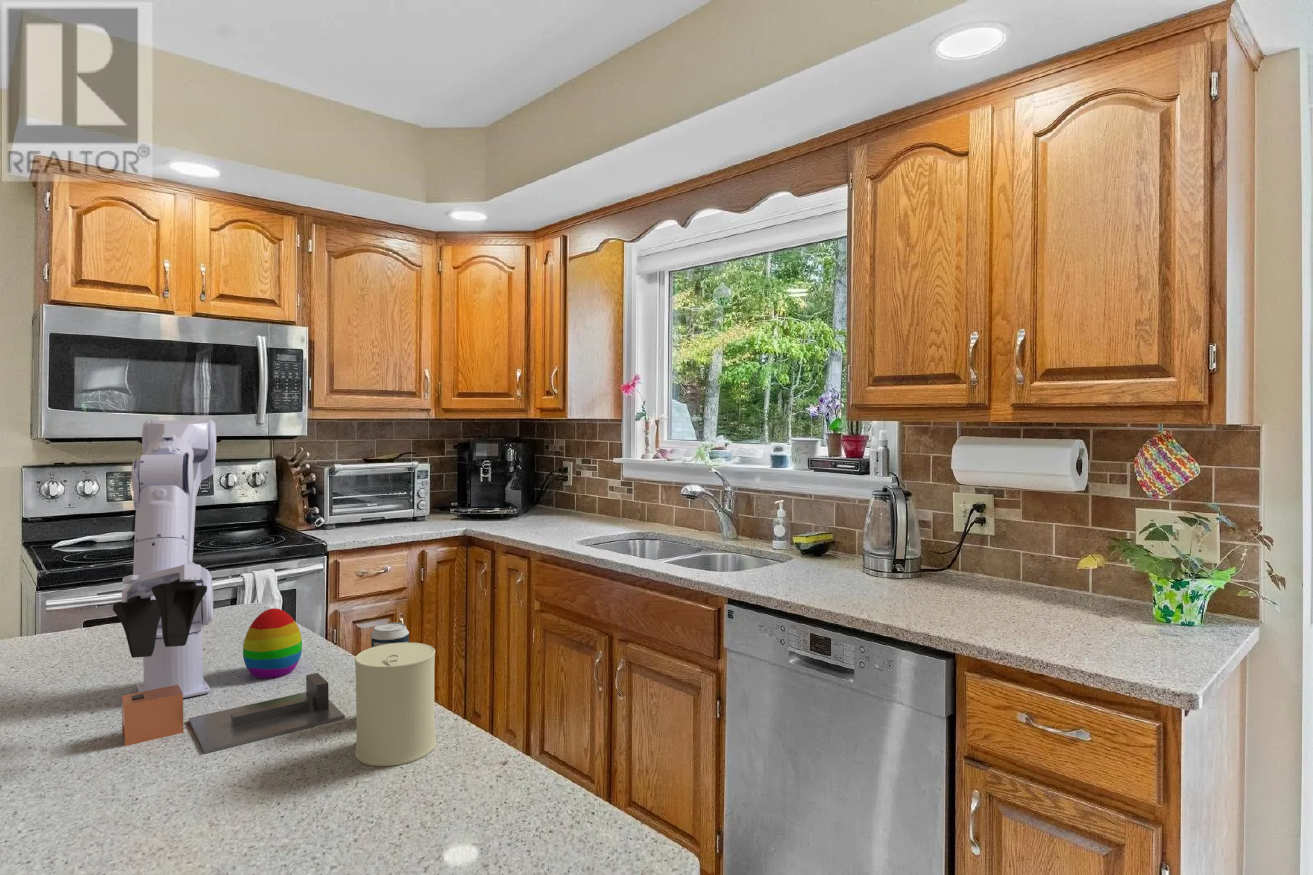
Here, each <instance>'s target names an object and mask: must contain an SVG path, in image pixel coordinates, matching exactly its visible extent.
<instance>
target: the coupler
mask: <svg viewBox="0 0 1313 875" xmlns="http://www.w3.org/2000/svg"><path fill="white" fill-rule="evenodd" d="M305 677H306V678H305V683H306V684H305V687H306V688H305V691H304V692H300V693H295V694H290V695H287V696H283V697H277V698H273V699H272V698H271V699H269V700H263V701H259V702H254V703H250V704H247V705H246V704H245V705H241V706H237V707H233V708H228V709H224V710H220V711H219V710H218V711H215V712H211V713H207V714H201V715H196V716H192V717H189V718H187V719H188V723H189V725H190V727H191V730H192V731H193V733H194V735H195V738H196V739H197V742H198V744H199V746H200V747H201V750H202V752H203V754H210V753H213V752H216V751H221V750H225V749H228V748H233V747H236V746H240V745H244V744H247V743H248V744H249V743H251V742H257V741H260V740H264V739H268V738H273V737H275V736H280V735H284V734H288V733H292V732H295V731H299V730H304V729H308V728H312V727H316V726H319V725H324V724H328V723H331V722H336V721H340V720H344V719H345V716H346V715H345V714H344V713H343V712H342V711H341V710H340V709H339V708H338V707H337V706H336V705H335V704H333V702H332V701H331V700H330V698H329V697H330V696H329V682H328V680H326V679H325V678H324V677H323V676H322V675H321V674H320V673H319V672H315V673H310V674H306V675H305Z"/></svg>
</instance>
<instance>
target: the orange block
mask: <svg viewBox="0 0 1313 875" xmlns="http://www.w3.org/2000/svg"><path fill="white" fill-rule="evenodd" d="M183 733H184V698H183V693H182V691H181V689H180V687H179V685H174V686H168V687H163V688H158V689H153V690H148V691H143V692H138V691H137V692H133V693H129V694H124V695H123V694H122V695H121V734H122V737H124V746H125V747H127V746H131V745H137V744H140V743H145V742H149V741H153V740H154V741H155V740H158V739H162V738H166V737H170V736H174V735H179V734H183Z"/></svg>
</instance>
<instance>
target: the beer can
mask: <svg viewBox="0 0 1313 875" xmlns="http://www.w3.org/2000/svg"><path fill="white" fill-rule="evenodd" d="M370 640H371V641H370V643H371V644H370V645H371V646H370V648H372V647H376V646H380V645H385V644H391V643H405V642H409V643H410V631H409V630H408V628H407V626H406V625H405V623H402V622H385V623H380V624H378V625H376V626H374V628H373V631H372V632H371V635H370Z"/></svg>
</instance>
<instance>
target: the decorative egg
mask: <svg viewBox="0 0 1313 875" xmlns="http://www.w3.org/2000/svg"><path fill="white" fill-rule="evenodd" d="M302 652H303V638H302V634H301V630H300V628H299V626H298V624H297V622H296V621H295V619H294V618H293V617H292V616H291V615H290V614H289V613H287V611H285V610H282V609H280V608H275V607H274V608H269V609H267V610H264V611H262V612H261V613H260V614H259V615H258V616H257V617H255V619H254V620H253V621H252V622H251V624H250V625H249V628H248V630H247V631H246V634H245V636H244V639H243V646H242V658H243V662H244V665H245V667H246V669H247V671H248V672H249V673H250V675H252V676H253V677H255V678H256V679H275V678H280V677H283V676H287V675H289V674H290V673H292V671H294V670H295V668H296V667H297V665H298V664H299V661H300V659H301V656H302Z"/></svg>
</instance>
